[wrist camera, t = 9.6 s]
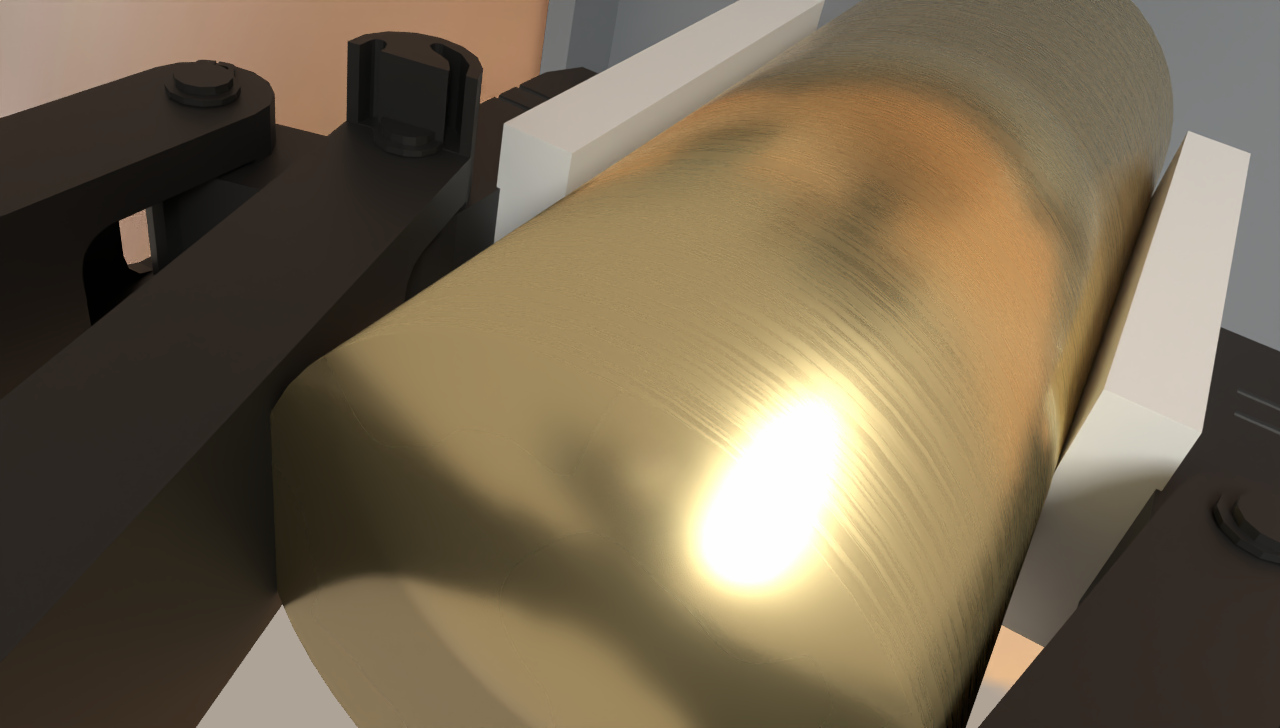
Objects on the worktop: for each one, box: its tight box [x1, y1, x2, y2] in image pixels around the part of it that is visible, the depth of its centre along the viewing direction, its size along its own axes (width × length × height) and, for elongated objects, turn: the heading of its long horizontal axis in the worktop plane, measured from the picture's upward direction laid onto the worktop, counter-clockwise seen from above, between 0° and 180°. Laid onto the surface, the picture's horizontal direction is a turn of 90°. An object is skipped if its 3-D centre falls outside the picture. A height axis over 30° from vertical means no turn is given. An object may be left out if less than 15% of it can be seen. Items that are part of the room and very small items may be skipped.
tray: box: [540, 0, 1280, 351], centre depth 18 cm, size 18×19×2 cm
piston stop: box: [270, 0, 1173, 728], centre depth 11 cm, size 5×5×12 cm
